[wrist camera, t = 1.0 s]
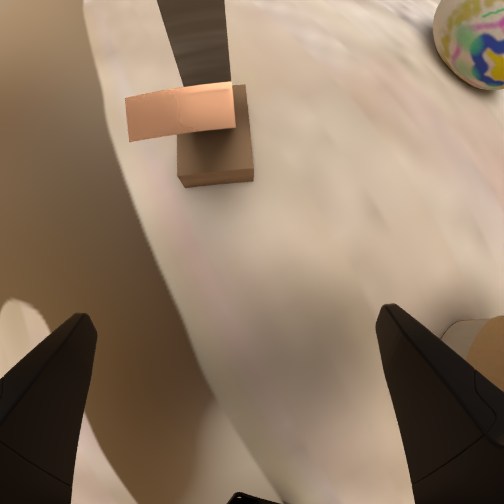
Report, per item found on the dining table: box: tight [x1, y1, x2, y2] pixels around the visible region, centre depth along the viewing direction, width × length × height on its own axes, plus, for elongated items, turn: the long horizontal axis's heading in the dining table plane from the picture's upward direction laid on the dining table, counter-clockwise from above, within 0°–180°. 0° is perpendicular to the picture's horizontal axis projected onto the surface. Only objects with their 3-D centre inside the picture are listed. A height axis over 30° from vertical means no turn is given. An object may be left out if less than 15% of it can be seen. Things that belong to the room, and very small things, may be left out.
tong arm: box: [125, 82, 236, 142], centre depth 13 cm, size 1×3×12 cm, turn 95°
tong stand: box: [157, 0, 254, 188], centre depth 15 cm, size 7×5×15 cm
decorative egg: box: [433, 0, 504, 90], centre depth 16 cm, size 12×12×15 cm
